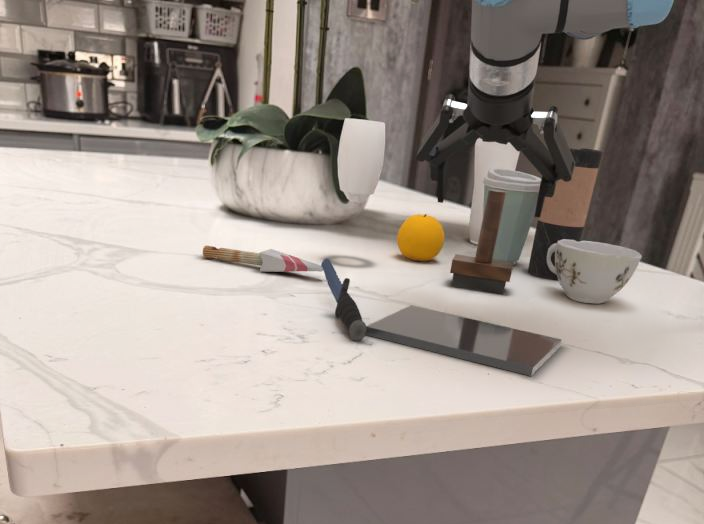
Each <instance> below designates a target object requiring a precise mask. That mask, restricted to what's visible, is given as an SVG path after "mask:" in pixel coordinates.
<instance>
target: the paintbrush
mask: <svg viewBox="0 0 704 524" xmlns="http://www.w3.org/2000/svg"><path fill="white" fill-rule="evenodd" d="M202 255H203V257H204V258H205V259H217V260H220V261H225V262H233V263H239V264H247V265H253V266H259V267H260V269H259V271H258V272H260V273H262V272H264V273H265V272H324V271H323V268H322V266H321V264H318V263H315V262H312V261H309V260H306V259H302V258H299V257H296V256H294V255H291V254H289V253H288V254H287V253H285V252H281V251H278V250H275V249H272V248H270V249H266V250H264V251H260V252H253V251H246V250H241V249H240V250H239V249H232V248H226V247H219V248H217V247H216V246H212V245H204V247H203V249H202Z"/></svg>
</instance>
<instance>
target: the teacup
mask: <svg viewBox="0 0 704 524" xmlns="http://www.w3.org/2000/svg"><path fill="white" fill-rule="evenodd" d="M554 251H555V267H554V265H553V264H552V262H551V255H552V253H553V252H554ZM642 257H643V256H642V254H641V253H640V252H639V251H637V250H635V249H632V248H628V247H625V246H620V245H617V244H610V243H606V242H599V241H591V240H590V241H589V240H580V242H577V241H574V240H566V239H562V240H560V241H558V242H557V243H555V244H553V245H551V246H550V248H549V249H548V253H547V264H548V267H549V269H550V270H551V271H552V272H553V273H555V274H556V275H557V277H558V280H557V281H558V283H559V284H560V286H561V289H562V290H563V291H564V293H565V295H566V298H568V299H570V300H572V301H576V302H580V303H584V304H598V305H599V304H605V303H606V302H607V301H608V300H609V299H610V298H612V297H613V296H615V295H616V294H617V293H618V292H620V291H621V290H622V289H623V288H624V287H625V286H626V285H627V284H628V283H629V281H630V280H631V279H632V278H633V275H634V274H635V272H636V270H637V268H638V266H639V264H640V262H641V260H642Z"/></svg>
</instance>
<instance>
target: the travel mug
mask: <svg viewBox="0 0 704 524" xmlns="http://www.w3.org/2000/svg"><path fill="white" fill-rule="evenodd" d="M569 149H570V151H571V153H572V156H573V158H574V160H575V167H574V171H573V175H572V179H571V180H570V181H569V182H565V181H563V180H562V179H560V180H558V181H557V183H556V188H555V192H554V195H553V196H552V198H551V197H545V200H544V204H543V208H542V212H541V215H540V217H537V222H536V227H535V231H534V237H533V238H534V239H533V241H532V242H533V243H532V247H531V251H530V252H531V253H530V256H529V257H530V258H529V263H528V268H527V273H528V274H529V275H532V276H533V277H538V278H542V279H547V280H556V281H559V280H558V277H557V275H556V274H555V273H553V272H552V271H551V270H550V269H549V267H548V264H547V253H548V249H549V248H550V246H551V245H553V244H555V243H557V242H558V241H560V240H562V239H566V240H574V241H577V242H580V241H581V239H582V235H583V232H584V227H585V224H586V220H587V216H588V212H589V209H590V204H591V201H592V196H593V193H594V189H595V188H594V187H595V185H596V180H597V176H598V173H599V168H600V164H601V160H602V156H603V150H599V149H593V148H592V149H591V148H585V147H584V148H579V149H578V148H571V147H569ZM551 262H552V264H553V265H554V267H555V251H554V252H553V253H552V255H551Z"/></svg>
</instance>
